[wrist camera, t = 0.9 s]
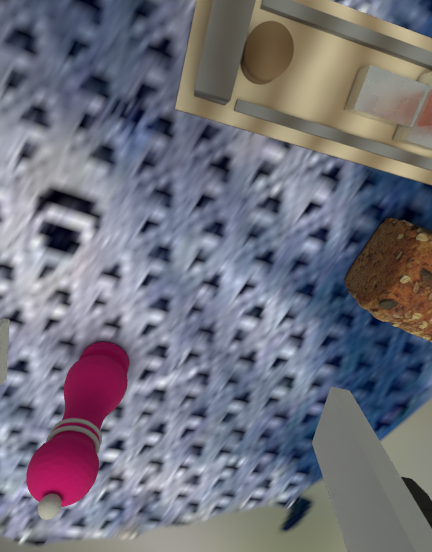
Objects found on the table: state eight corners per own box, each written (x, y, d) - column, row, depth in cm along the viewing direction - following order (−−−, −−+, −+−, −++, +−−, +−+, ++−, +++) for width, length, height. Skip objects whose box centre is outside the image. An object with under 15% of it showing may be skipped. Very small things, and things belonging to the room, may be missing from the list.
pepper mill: (94, 328, 43) (21, 474, 25) (143, 354, 45) (109, 507, 27) (67, 366, 45) (-18, 527, 27) (115, 390, 47) (66, 554, 29)
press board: (175, 109, 34) (171, 104, 27) (205, -39, 30) (209, -90, 23) (434, 186, 39) (486, 198, 32) (492, 68, 34) (568, 52, 27)
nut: (236, 39, 31) (241, 26, 27) (280, 30, 31) (291, 16, 27) (243, 88, 32) (249, 82, 29) (284, 80, 32) (295, 73, 28)
